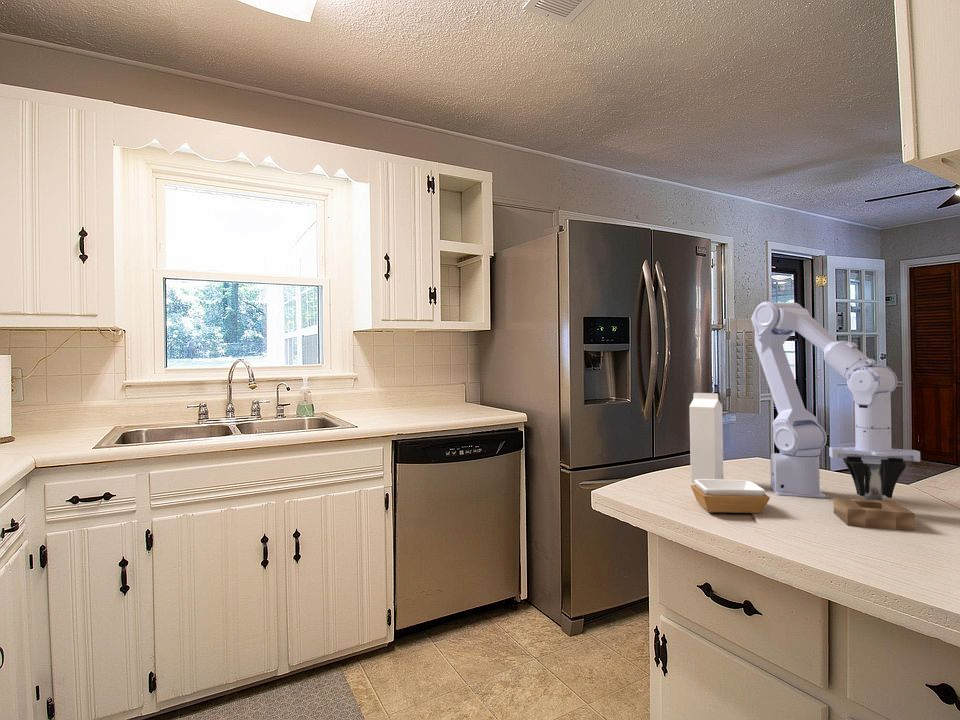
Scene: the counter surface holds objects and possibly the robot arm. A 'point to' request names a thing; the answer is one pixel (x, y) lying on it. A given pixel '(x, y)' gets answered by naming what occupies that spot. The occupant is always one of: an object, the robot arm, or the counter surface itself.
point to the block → (874, 513)
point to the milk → (706, 437)
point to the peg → (874, 481)
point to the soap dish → (730, 495)
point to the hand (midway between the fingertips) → (874, 495)
